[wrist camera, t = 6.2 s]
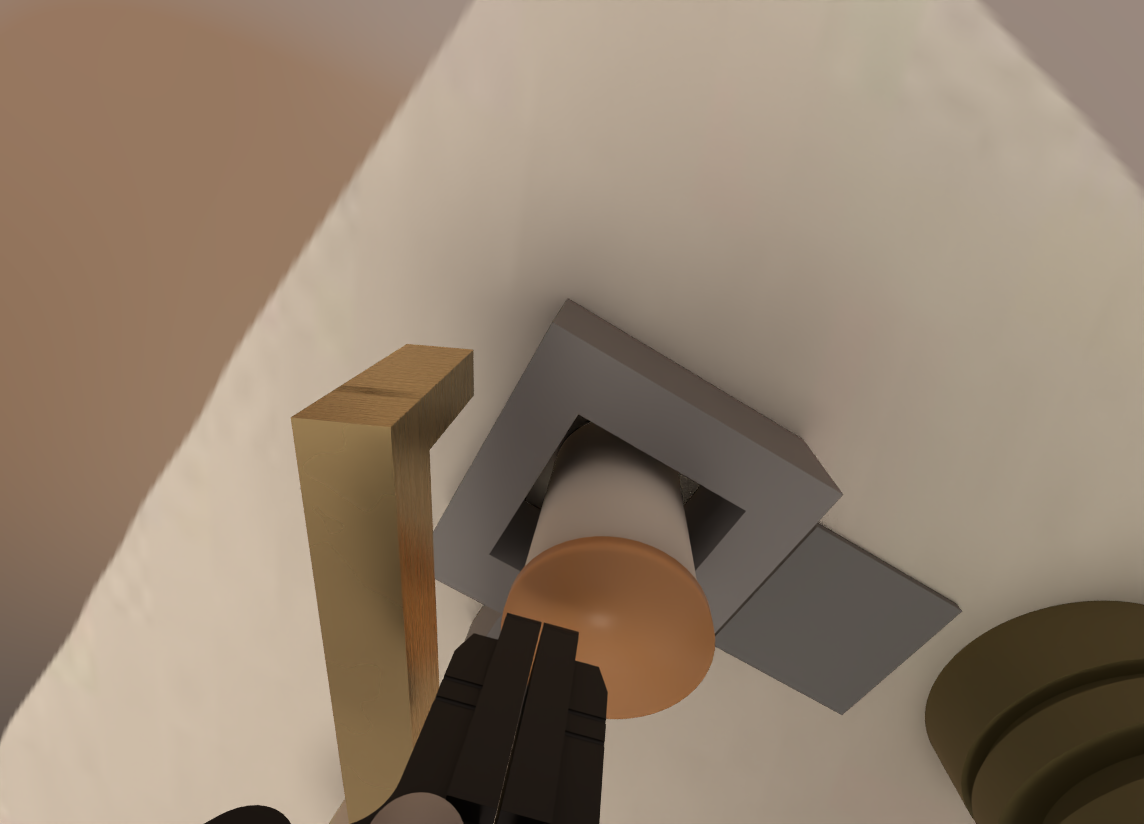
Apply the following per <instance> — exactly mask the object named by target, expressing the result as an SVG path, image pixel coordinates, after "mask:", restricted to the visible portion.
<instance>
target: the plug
mask: <svg viewBox="0 0 1144 824" xmlns="http://www.w3.org/2000/svg"><path fill="white" fill-rule="evenodd" d="M507 613H511V614H514V615H518V616H522V617H525V618H529V619H533V620H536V621H540V622H542V624H541V628H540V632H539V636H538V641H537V645H536V649H535V653H534V657H533V662H534V658H535V654H536V650H537V647H538V643H539V639H540V635H541V632H542V628H543V624H544V622H545V623H548V624H552V625H556V626H560V627H563V628H567V629H571V630H574V631H578V632H579V638H578V645H577V652H576V659H575V660H576V661H579V662H583V663H587V664H590V665H594V666H598V667H599V668H600V671H601V674H602V677H603V680H604V683H605V685H606V688H607V691H608V698H607V714H606V719H627V718H635V717H642V716H646V715H650V714H653V713H656V712H659V711H662V710H664V709H667V708H669V707H671V706H673V705H675V704H676V703H678V702H680V701H681V700H682V699H684V698H685V697H687V696H688V695H689V694H690V693H691V692H692V691H693V690H695V689H696V687H697V686H698V685H699V684H700V683H701V681H702V680H703V679H704V677H705V675H706V674H707V672H708V670H709V668H710V665H711V663H712V660H713V655H714V651H715V633H714V626H713V621H712V616H711V611H710V607H709V604H708V600H707V597H706V595H705V593H704V591H703V589H702V587H701V586H700V584H699V583H698V582H697V579H696V573H695V568H694V562H693V556H692V550H691V545H690V539H689V533H688V528H687V522H686V516H685V511H684V505H683V499H682V493H681V488H680V482H679V476H678V471H676V470H674V469H673V468H671V467H669V466H667V465H666V464H664V463H662V462H660V461H659V460H657V459H655V458H653V457H652V456H650V455H648V454H647V453H645V452H643V451H641V450H640V449H638V448H636V447H634V446H633V445H631V444H629V443H627V442H626V441H624V440H622V439H621V438H619V437H617V436H615V435H614V434H612V433H610V432H608V431H607V430H605V429H603V428H601V427H600V426H598V425H596V424H594V423H593V422H591V423H588V424H586V425H584V426H582V427H580V428H579V429H577V430H576V431H575V432H573V433H572V434H571V435H570V436H569V437H568V438H567V439H566V441H565V442H564V443H563V445H562V446H561V448H560V450H559V452H558V455H557V457H556V461H555V464H554V468H553V471H552V474H551V478H550V481H549V485H548V488H547V492H546V495H545V499H544V502H543V505H542V509H541V512H540V516H539V519H538V523H537V526H536V530H535V533H534V536H533V540H532V543H531V547H530V550H529V554H528V557H527V561H526V564H525V567H524V568H523V569H522V570H521V572H520V573H519V574H518V575H517V577H516V579H515V581H514V582H513V584H512V586H511V589H510V592H509V594H508V598H507V601H506V604H505V607H504V610H503V615H502V620H501V629H502V626H503V623H504V620H505V617H506V615H507ZM533 662H532V665H533ZM531 669H532V666H531ZM530 673H531V670H530ZM529 676H530V674H529ZM528 680H529V678H528ZM527 684H528V682H527Z"/></svg>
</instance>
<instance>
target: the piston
mask: <svg viewBox="0 0 1144 824" xmlns="http://www.w3.org/2000/svg"><path fill="white" fill-rule="evenodd" d="M925 724H926V730H927V734H928V737H929V740H930V742H931V744H932V746H933V748H934V750H935V752H936V754H937V755H938V757H939V759H940V761H941V763H942V764H943V766H944V768H945V770H946V772H947V773H948V775H949V777H950V779H951V781H952V782H953V784H954V786H955V788H956V790H957V791H958V793H959V795H960V797H961V799H962V800H963V802H964V804H965V806H966V808H967V809H968V811H969V813H970V815H971V816H972V818H973V819H974V820H975V822H976V824H1144V605H1143V604H1138V603H1131V602H1121V601H1085V602H1076V603H1068V604H1062V605H1057V606H1052V607H1048V608H1044V609H1040V610H1037V611H1033V612H1030V613H1027V614H1024V615H1021V616H1019V617H1016V618H1014V619H1011V620H1009V621H1007V622H1005V623H1002V624H1000V625H998V626H996V627H995V628H993V629H991V630H989V631H987V632H986V633H984V634H982V635H981V636H979V637H978V638H976V639H975V640H973V641H972V642H971V643H969V644H968V645H967V646H966V647H964V648H963V649H962V650H961V651H960V652H959V653H957V654H956V655H955V656H954V657H953V658H952V659H951V661H950V662H949V663H948V664H947V665H946V666H945V667H944V669H943V670H942V671H941V673H940V674H939V676H938V677H937V679H936V681H935V683H934V684H933V686H932V689H931V691H930V694H929V697H928V700H927V704H926V711H925Z"/></svg>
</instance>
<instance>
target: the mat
mask: <svg viewBox="0 0 1144 824" xmlns="http://www.w3.org/2000/svg"><path fill="white" fill-rule="evenodd" d="M961 612H962V610H961V609H960V608H959V606H958V605H957V604H956V603H954V602H952V601H950V600H949V599H947V598H945V597H944V596H942V595H940V594H938V593H937V592H935V591H933V590H932V589H930V588H928V587H926V586H925V585H923V584H921V583H920V582H918V581H916V580H914V579H913V578H911V577H909V576H908V575H906V574H904V573H902V572H901V571H899V570H897V569H896V568H894V567H892V566H890V565H889V564H887V563H885V562H884V561H882V560H880V559H878V558H877V557H875V556H873V555H872V554H870V553H868V552H866V551H865V550H863V549H861V548H860V547H858V546H856V545H854V544H853V543H851V542H849V541H847V540H846V539H844V538H842V537H841V536H839V535H837V534H835V533H834V532H832V531H830V530H829V529H827V528H825V527H823V526H822V525H820V524H818V523H817V524H816V525H815V526H814V527H813V528H812V529H811V530H810V531H809V532H808V533H807V534H806V535H805V536H804V538H803V539H802V540H801V541H800V542H799V543H798V544H797V545H796V546H795V547H794V548H793V549H792V551H791V552H790V553H789V554H788V555H787V556H786V557H785V558H784V559H783V560H782V561H781V562H780V564H779V565H778V566H777V567H776V568H775V569H774V570H773V571H772V572H771V573H770V574H769V575H768V576H767V578H766V579H765V580H764V581H763V582H762V583H761V584H760V585H759V586H758V587H757V588H756V589H755V591H754V592H753V593H752V594H751V595H750V596H749V597H748V598H747V599H746V600H745V601H744V602H743V604H742V605H741V606H740V607H739V608H738V609H737V610H736V611H735V612H734V613H733V614H732V615H731V616H730V618H729V619H728V620H727V621H726V622H725V623H724V624H723V625H722V626H721V627H720V628H719V629H718V631H717V632H716V633H715V647H717V648H719V649H721V650H723V651H725V652H727V653H728V654H730V655H732V656H734V657H736V658H738V659H739V660H741V661H743V662H745V663H747V664H749V665H751V666H752V667H754V668H756V669H758V670H760V671H762V672H763V673H765V674H767V675H769V676H771V677H773V678H774V679H776V680H778V681H780V682H782V683H784V684H786V685H787V686H789V687H791V688H793V689H795V690H797V691H798V692H800V693H802V694H804V695H806V696H808V697H809V698H811V699H813V700H815V701H817V702H819V703H821V704H822V705H824V706H826V707H828V708H830V709H832V710H833V711H835V712H837V713H839V714H841V715H843V714H844V713H845V712H846V711H847V710H848V709H850V708H851V707H852V706H853V705H854V704H855V703H857V702H858V701H859V700H860V699H861V698H862V697H864V696H865V695H866V694H867V693H868V692H869V691H870V690H872V689H873V688H874V687H875V686H876V685H877V684H879V683H880V682H881V681H882V680H883V679H884V678H886V677H887V676H888V675H889V674H890V673H891V672H892V671H894V670H895V669H896V668H897V667H898V666H899V665H901V664H902V663H903V662H904V661H905V660H906V659H908V658H909V657H910V656H911V655H912V654H913V653H914V652H916V651H917V650H918V649H919V648H920V647H921V646H923V645H924V644H925V643H926V642H927V641H928V640H930V639H931V638H932V637H933V636H934V635H935V634H936V633H938V632H939V631H940V630H941V629H942V628H943V627H945V626H946V625H947V624H948V623H949V622H950V621H952V620H953V619H954V618H955V617H956V616H957V615H959V614H960V613H961Z"/></svg>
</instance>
